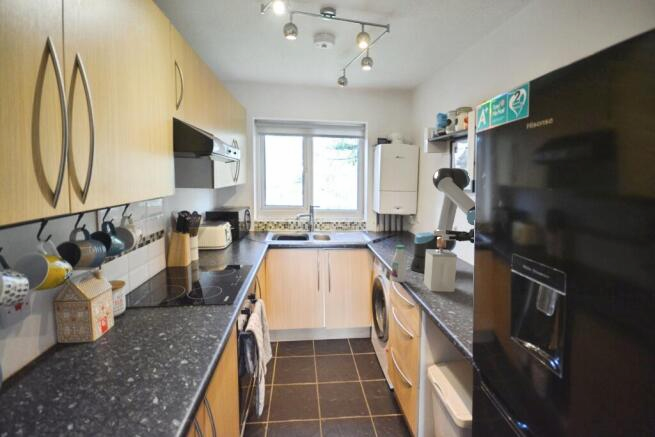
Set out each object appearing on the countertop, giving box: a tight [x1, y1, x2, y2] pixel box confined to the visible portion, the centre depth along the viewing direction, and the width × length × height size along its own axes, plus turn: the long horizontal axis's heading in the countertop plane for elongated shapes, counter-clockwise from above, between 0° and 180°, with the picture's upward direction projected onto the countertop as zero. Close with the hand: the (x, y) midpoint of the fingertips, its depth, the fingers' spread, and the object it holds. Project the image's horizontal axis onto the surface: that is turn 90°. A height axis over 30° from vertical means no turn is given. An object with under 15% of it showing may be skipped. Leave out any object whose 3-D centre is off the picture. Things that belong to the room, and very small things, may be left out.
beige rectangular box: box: [423, 249, 458, 293], centre depth 167 cm, size 16×12×19 cm
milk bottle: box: [391, 244, 407, 283], centre depth 179 cm, size 8×8×20 cm
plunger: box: [437, 237, 446, 253], centre depth 168 cm, size 7×7×26 cm
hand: (437, 235), depth 166 cm, fingers open, 13 cm apart
